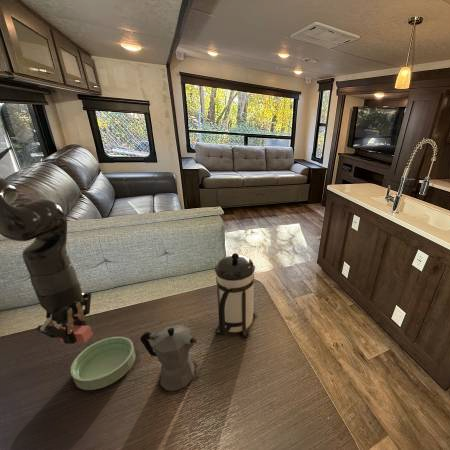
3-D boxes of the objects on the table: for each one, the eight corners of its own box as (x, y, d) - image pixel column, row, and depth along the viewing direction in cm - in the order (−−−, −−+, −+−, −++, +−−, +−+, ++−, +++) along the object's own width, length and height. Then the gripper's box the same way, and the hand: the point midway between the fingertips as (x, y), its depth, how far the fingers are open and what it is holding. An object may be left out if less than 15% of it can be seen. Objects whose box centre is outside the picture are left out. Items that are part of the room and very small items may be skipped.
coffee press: (207, 319, 92) (201, 248, 81) (247, 305, 101) (247, 239, 89) (221, 354, 79) (217, 276, 68) (266, 335, 88) (269, 263, 76)
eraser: (60, 342, 64) (57, 333, 63) (69, 333, 66) (66, 325, 65) (85, 342, 64) (81, 334, 63) (92, 334, 67) (90, 325, 66)
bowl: (60, 391, 65) (55, 380, 63) (99, 346, 78) (95, 335, 76) (116, 392, 66) (113, 381, 64) (145, 347, 79) (143, 337, 77)
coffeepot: (207, 364, 76) (203, 318, 69) (192, 395, 67) (186, 347, 60) (158, 358, 76) (149, 312, 69) (137, 388, 67) (125, 339, 60)
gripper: (65, 266, 65) (82, 317, 71) (9, 303, 52) (36, 360, 59) (95, 268, 65) (109, 318, 72) (46, 304, 52) (70, 361, 59)
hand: (76, 337), depth 65 cm, fingers closed on eraser, 2 cm apart
